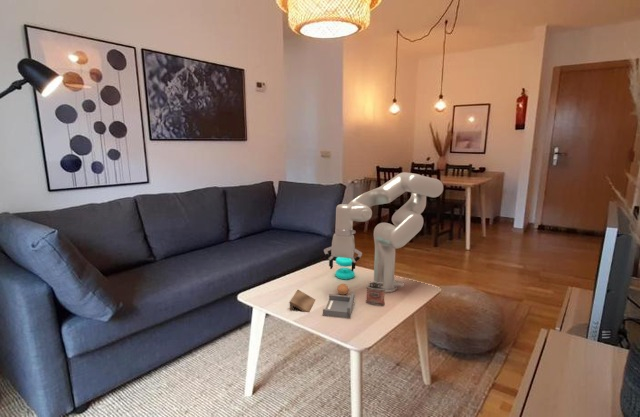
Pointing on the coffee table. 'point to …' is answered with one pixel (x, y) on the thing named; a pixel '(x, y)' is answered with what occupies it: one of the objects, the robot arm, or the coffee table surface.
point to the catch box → (339, 306)
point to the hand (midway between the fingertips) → (342, 269)
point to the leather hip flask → (375, 293)
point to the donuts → (344, 272)
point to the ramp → (301, 301)
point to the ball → (342, 289)
